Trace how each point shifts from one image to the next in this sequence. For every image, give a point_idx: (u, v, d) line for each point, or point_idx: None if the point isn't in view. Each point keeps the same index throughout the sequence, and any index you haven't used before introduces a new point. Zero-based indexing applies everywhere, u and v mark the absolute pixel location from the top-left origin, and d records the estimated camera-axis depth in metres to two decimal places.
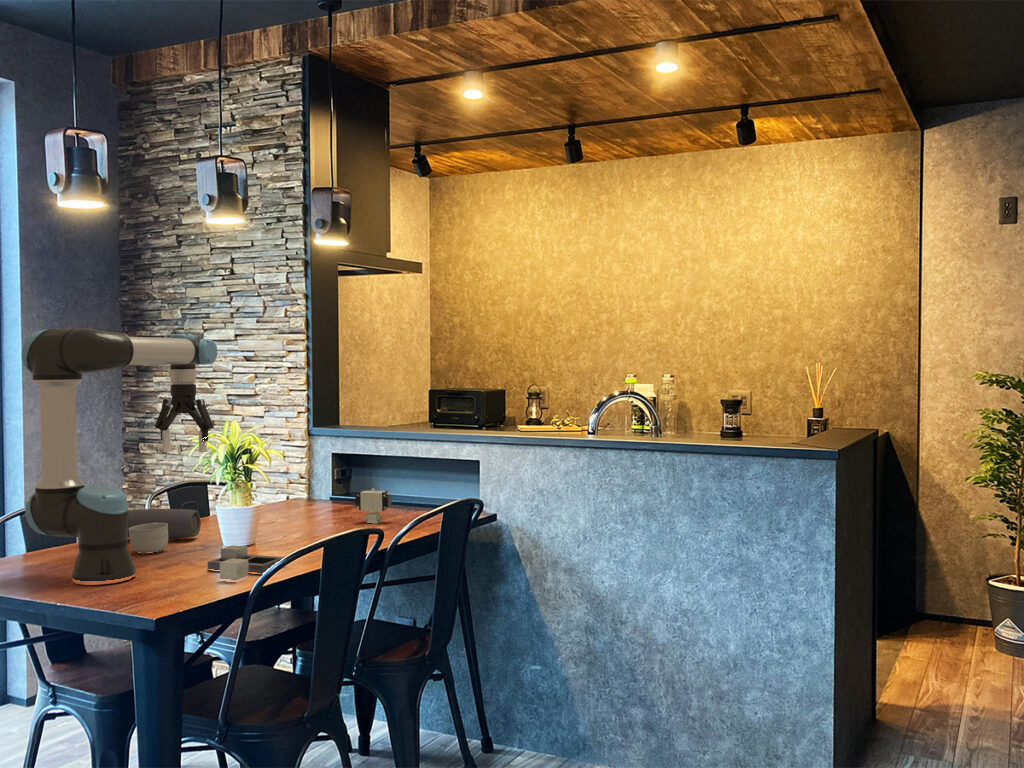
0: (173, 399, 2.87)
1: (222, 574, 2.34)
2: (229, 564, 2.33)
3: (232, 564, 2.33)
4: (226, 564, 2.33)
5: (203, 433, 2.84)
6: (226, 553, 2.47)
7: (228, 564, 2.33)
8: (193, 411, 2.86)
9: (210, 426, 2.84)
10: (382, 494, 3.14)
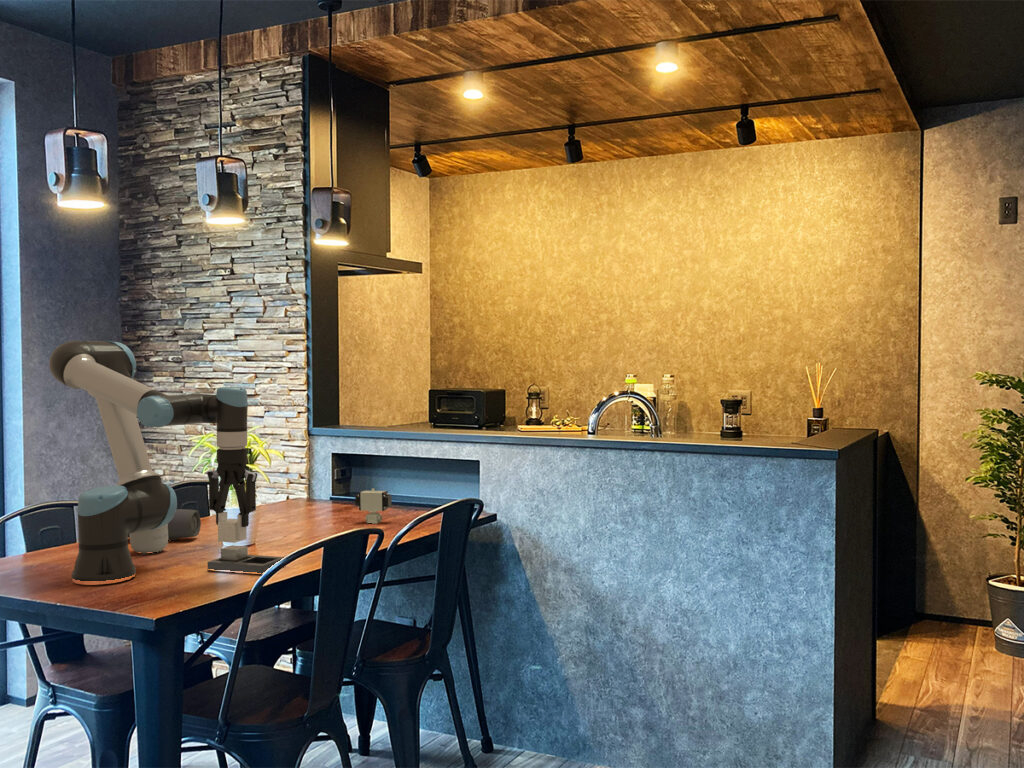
0: (218, 467, 2.35)
1: (220, 533, 2.34)
2: (227, 523, 2.33)
3: (230, 523, 2.33)
4: (224, 523, 2.33)
5: (243, 517, 2.33)
6: (226, 553, 2.47)
7: (226, 523, 2.33)
8: (240, 486, 2.34)
9: (251, 509, 2.33)
10: (382, 494, 3.14)
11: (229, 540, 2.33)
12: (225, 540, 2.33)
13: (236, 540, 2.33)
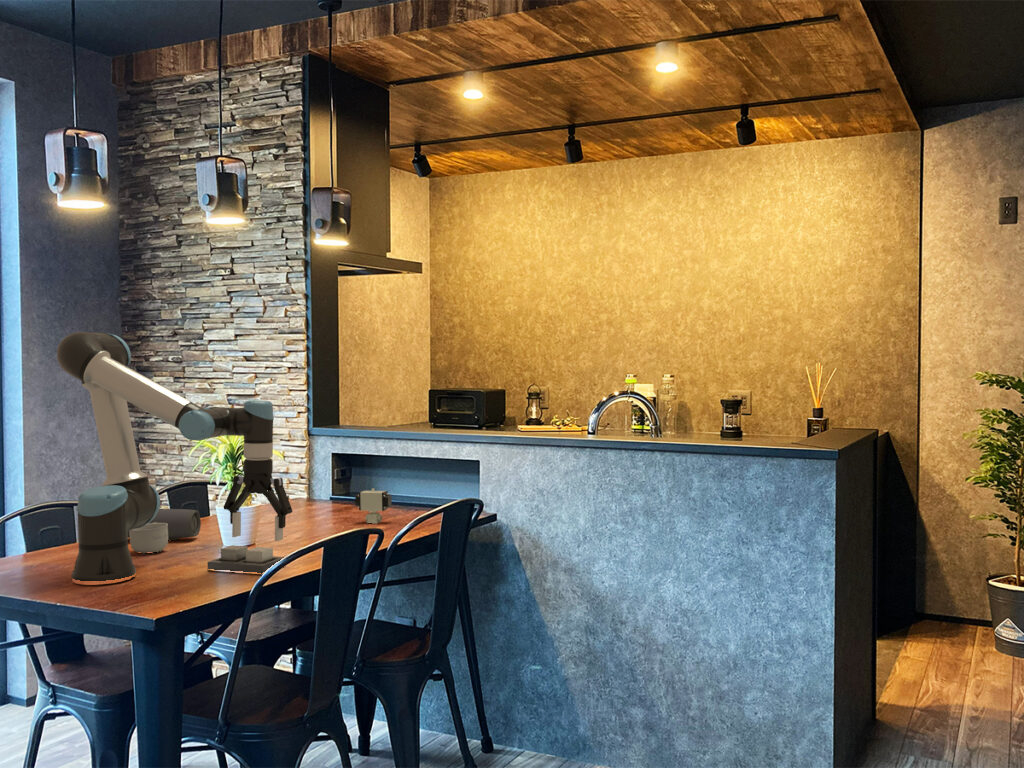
0: (246, 476, 2.46)
1: (248, 562, 2.45)
2: (255, 552, 2.44)
3: (258, 552, 2.44)
4: (252, 552, 2.45)
5: (280, 518, 2.44)
6: (226, 553, 2.47)
7: (254, 552, 2.44)
8: (269, 492, 2.45)
9: (288, 511, 2.43)
10: (382, 494, 3.14)
11: None
12: None
13: None
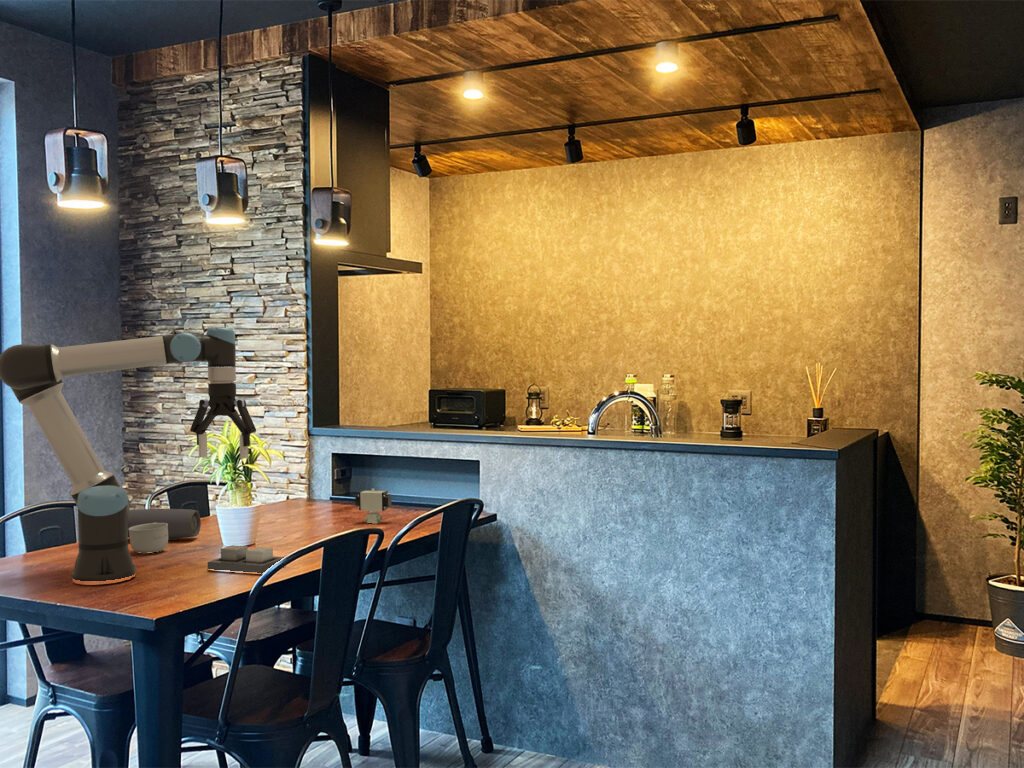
0: (211, 400, 2.60)
1: (248, 562, 2.45)
2: (255, 552, 2.44)
3: (258, 552, 2.44)
4: (252, 552, 2.45)
5: (244, 437, 2.57)
6: (226, 553, 2.47)
7: (254, 552, 2.44)
8: (233, 413, 2.58)
9: (252, 430, 2.57)
10: (382, 494, 3.14)
11: None
12: None
13: None
